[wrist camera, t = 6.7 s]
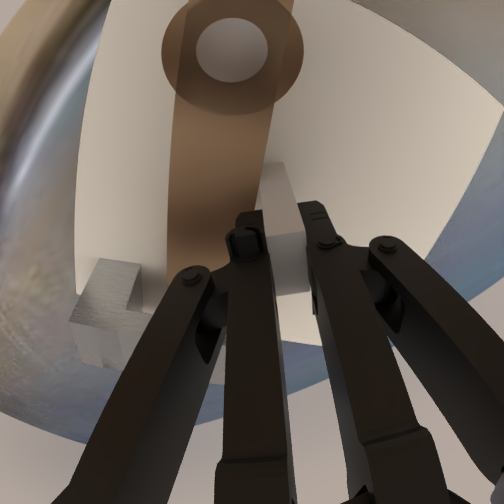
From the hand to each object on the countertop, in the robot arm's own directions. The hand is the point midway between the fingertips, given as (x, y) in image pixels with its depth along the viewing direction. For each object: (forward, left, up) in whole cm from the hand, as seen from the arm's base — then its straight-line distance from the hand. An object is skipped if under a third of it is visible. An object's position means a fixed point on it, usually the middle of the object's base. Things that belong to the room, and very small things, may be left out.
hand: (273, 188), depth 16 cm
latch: (+1, -3, -1) cm, 3 cm away
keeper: (+10, -4, -3) cm, 11 cm away
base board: (+1, +1, -3) cm, 3 cm away
